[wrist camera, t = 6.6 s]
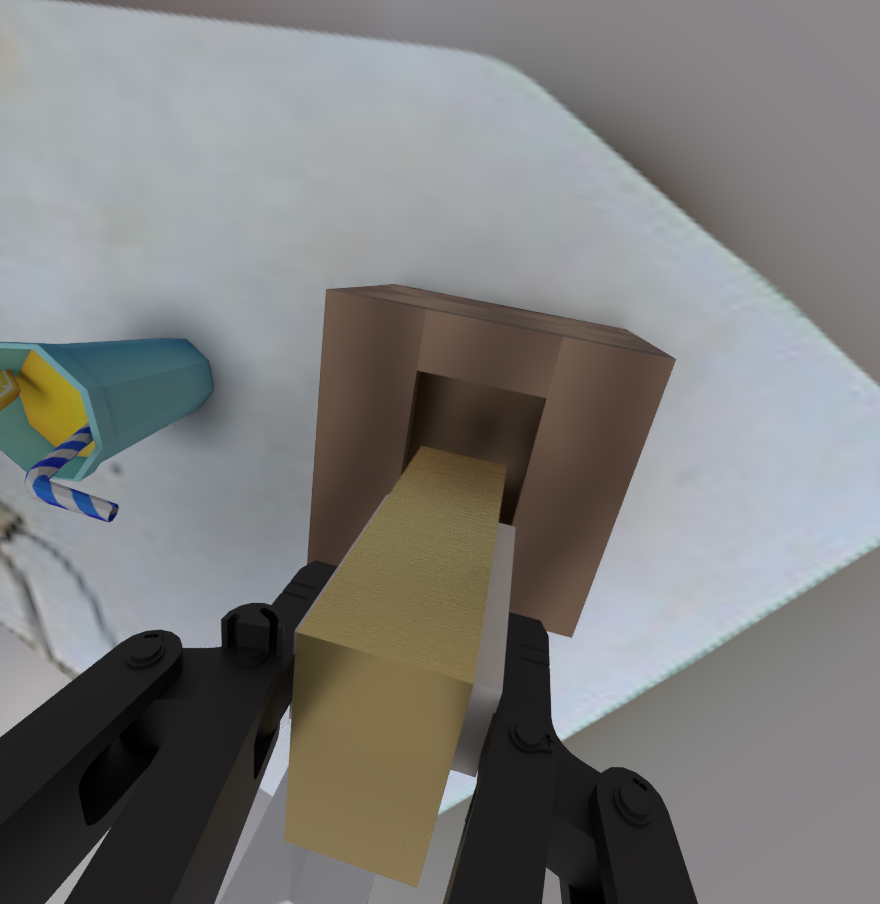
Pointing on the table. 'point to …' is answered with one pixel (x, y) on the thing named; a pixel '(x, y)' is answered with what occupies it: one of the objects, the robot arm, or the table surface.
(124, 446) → the cup
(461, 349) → the coin box
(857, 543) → the table surface
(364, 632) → the block
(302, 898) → the skincare box
